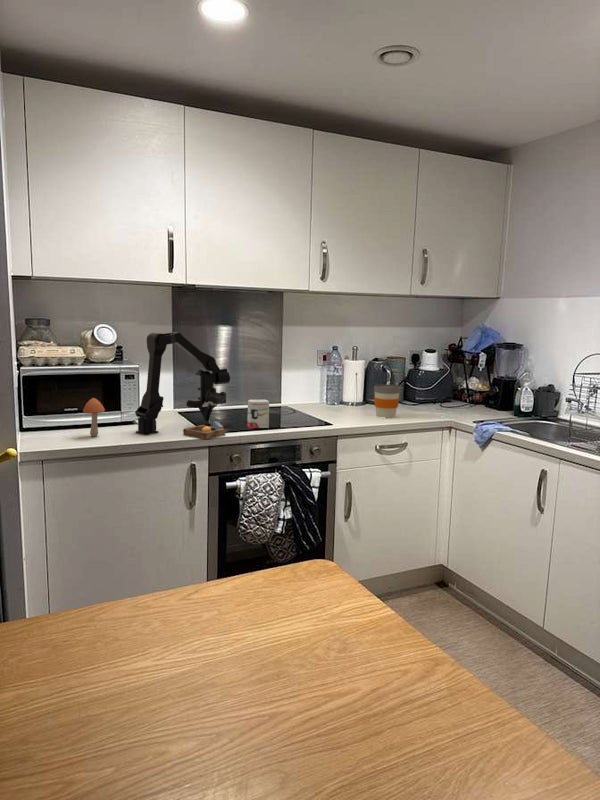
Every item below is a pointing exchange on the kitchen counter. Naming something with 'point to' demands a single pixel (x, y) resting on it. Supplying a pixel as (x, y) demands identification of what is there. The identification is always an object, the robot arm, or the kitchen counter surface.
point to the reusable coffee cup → (386, 400)
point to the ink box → (258, 414)
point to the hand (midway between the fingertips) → (206, 421)
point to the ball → (206, 429)
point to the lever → (215, 423)
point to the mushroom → (93, 414)
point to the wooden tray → (198, 432)
